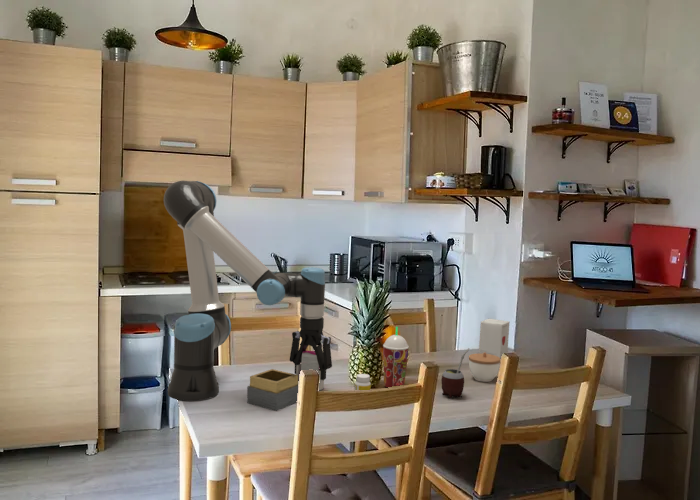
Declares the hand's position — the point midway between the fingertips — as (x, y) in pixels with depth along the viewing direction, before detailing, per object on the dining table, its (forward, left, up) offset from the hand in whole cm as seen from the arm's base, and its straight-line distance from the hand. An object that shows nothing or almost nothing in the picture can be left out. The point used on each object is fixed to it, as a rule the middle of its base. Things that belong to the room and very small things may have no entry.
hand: (309, 386), depth 202 cm
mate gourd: (+40, +22, 0) cm, 46 cm away
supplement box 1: (0, 0, 0) cm, 0 cm away
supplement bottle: (+21, -2, 0) cm, 21 cm away
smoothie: (+21, +18, 0) cm, 28 cm away
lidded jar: (+41, +46, 0) cm, 62 cm away
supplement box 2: (+34, +75, -1) cm, 82 cm away
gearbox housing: (0, -18, 0) cm, 18 cm away
